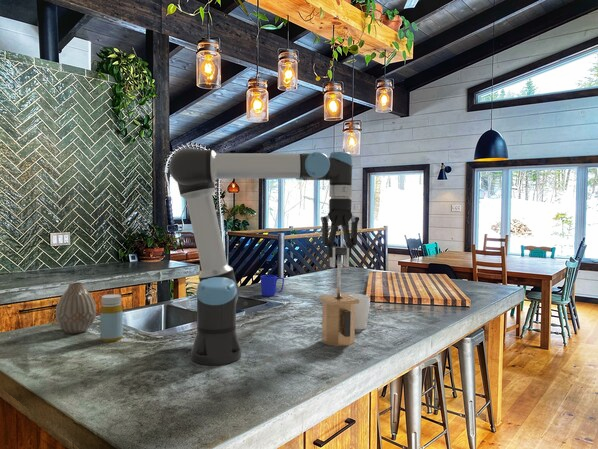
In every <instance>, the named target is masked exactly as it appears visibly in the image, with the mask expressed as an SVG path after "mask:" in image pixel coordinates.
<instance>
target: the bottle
mask: <svg viewBox="0 0 598 449" xmlns="http://www.w3.org/2000/svg"><path fill="white" fill-rule="evenodd" d="M100 300H101V301H100V302H101V307H100V310H99V316H100V318H99V320H100V321H99V322H100V323H99V324H100V326H99V328H100V340H101V341H102V342H104V343H115V342H118V341H121V340H122V338H123V335H124V333H123V332H124V331H123V328H124V326H123V325H124V324H123V322H124V321H123V320H124V319H123V318H124V317H123V316H124V315H123V307H122V294H118V293H113V294H111V293H110V294H104V295H102V296H101V299H100Z"/></svg>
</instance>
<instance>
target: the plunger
mask: <svg viewBox="0 0 598 449" xmlns="http://www.w3.org/2000/svg"><path fill="white" fill-rule="evenodd" d="M333 248H335V256H337V274H336V275H337V278H336V280H337V281H336V285H337V286H336V288H337V290H336V295H337V299H341V295H342V294H341V293H342V292H341V291H342V289H341V288H342V285H341V284H342V282H341V281H342V256H344V255H346V246H333Z"/></svg>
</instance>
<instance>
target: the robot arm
mask: <svg viewBox="0 0 598 449" xmlns="http://www.w3.org/2000/svg"><path fill="white" fill-rule="evenodd" d="M168 168H169V173H170V175H171V177H172V179H174V181H175V182H176V183H177V187H178V190H179V192H178V193H179V194H180V197H182V198H183V199H184V200H185V201H186V205H187V210H188V214H189V218H190V223H191V227H192V232H193V236H194V241H195V245H196V250H197V253H198V258H199V263H200V267H201V271H200V274H199V275H198V280H199V283H198V284H197V286H196V287H197V288H196V292H195V293H196V300H197V301H196V303H197V304H196V305H197V306H196V335H195V337H194V340H193V344H192V346H191V347H192V348H191V351H190V359H191V361H192V362H194V363H196V364H199V365H207V366H219V365H226V364H231V363H233V362H236V361H238V360H239V359H241V357H242V347H241V344H240V341H239V336H238V334H237V326H236V324H237V320H236V319H237V303H238V299H239V298H240V297H239V296H240V287H239V285H238V282H237V280H236V276H235V272H234V268H233V267H232V266H231V265H229V264H228V260H227V256H226V252H225V251H226V250H225V247H224V243H223V239H222V234H221V230H220V224H219V220H218V219H219V218H218V216H217V211H216V207H215V201H214V198H213V194H214V192H215V190H216V185H215V181H216V180H218V179H219V180H220V179H221V180H223V179H227V180H228V179H236V180H237V179H296V180H298V181H303V182H304V181H329V188H328V190H329V193H328V194H329V195H328V197H330V198H329V199H328V200H329V201H328V204H329V205H328V210H329V211H328V213H327V215H325V216H321V217H320V221H321V225H322V226H321V227H322V230H321V232H322V233H321V234H322V235H321V237H322V238H321V239H322V242H321V243H322V246H324V247H326V248H327V257H328V258H329V267H330V268H336V255H335V248H333V247H334V245H335V239H336V236H337V231H338V228H339V226H341V228H342V233H343V237H344V242H345V247H346V255H343V267H346V268H349V267H350V257H352V248H353V247H355V246H357V244H358V224H359V221H360V217H358V216H355V215H353V213H352V199H351V198H352V193H353V192H352V191H353V189H352V188H353V187H352V186H353V184H352V182H353V181H352V179H353V156H352V154H351V153H350V152H348V151H332V152H330V154H329V157H328V156H327V154H325V153H323V152H321V151H320V152H319V151H313V152H311V153H309V152H308V153H307V152H305V153H303V152H302V153H297V152H296V153H294V152H292V153H289V152H288V153H284V152H282V153H279V152H278V153H275V152H274V153H272V152H271V153H266V152H265V153H263V152H262V153H261V152H260V153H255V152H253V153H249V152H248V153H240V152H239V153H236V152H235V153H234V152H233V153H230V152H227V153H226V152H225V153H222V152H220V153H218V152H216V151H215V150H214V149H198V148H190V147H189V148H182V149H180V150H178V151H176V152H175V153H174V154H173V155H172V157H171V159H170V161H169V167H168ZM329 220H330V222H331V226H330V230H329ZM350 221H351V226H350V224H349V222H350ZM329 231H330V232H329Z"/></svg>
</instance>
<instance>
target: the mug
mask: <svg viewBox="0 0 598 449" xmlns="http://www.w3.org/2000/svg"><path fill="white" fill-rule="evenodd" d="M259 277H260V290H261V295H262V296H263V297H273V296H276V295H275V294H276V293H277V294H278V293H281V292H283V289H284V284H285V278H284V277H277V275H274V274H263V275H260V276H259ZM278 280H282V283H281V284H282V285H281V288H280V290H278V291H277V282H278Z"/></svg>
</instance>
